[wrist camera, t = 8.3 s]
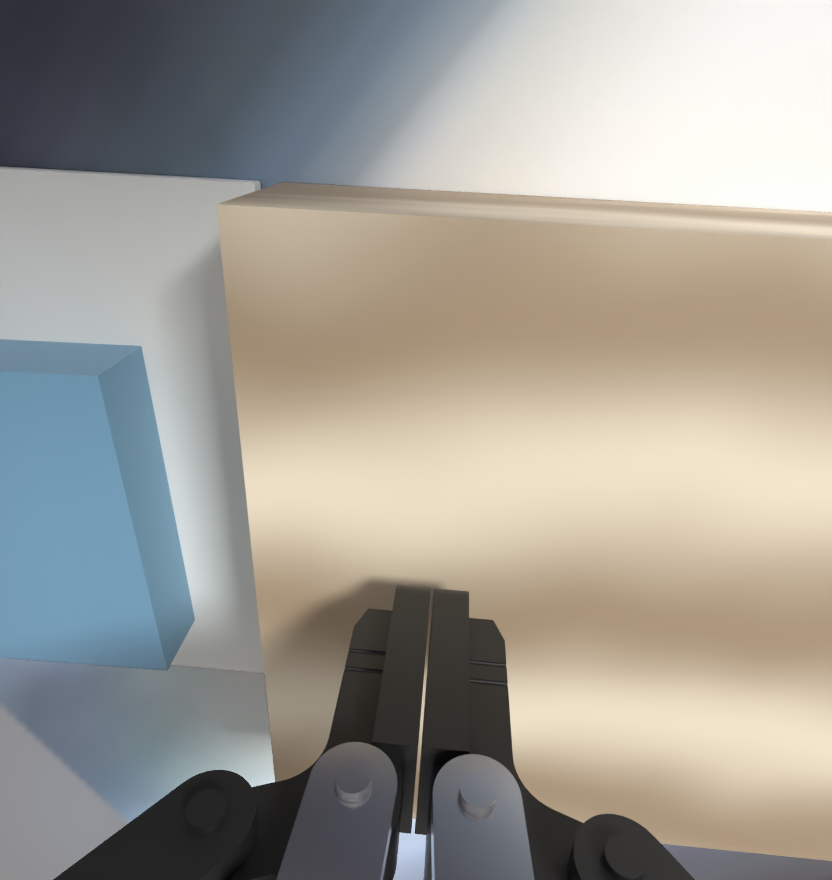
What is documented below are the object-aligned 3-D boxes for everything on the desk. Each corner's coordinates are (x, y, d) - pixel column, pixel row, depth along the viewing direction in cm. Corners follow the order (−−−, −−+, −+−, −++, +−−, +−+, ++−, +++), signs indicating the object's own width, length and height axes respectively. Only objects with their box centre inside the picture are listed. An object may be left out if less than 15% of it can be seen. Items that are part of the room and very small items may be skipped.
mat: (-133, 158, 14) (-148, 160, 13) (260, 180, 13) (254, 182, 13) (33, 642, 21) (26, 651, 20) (294, 666, 20) (290, 675, 20)
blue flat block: (97, 376, 13) (141, 345, 15) (-165, 362, 14) (-92, 334, 15) (167, 670, 17) (194, 619, 19) (-34, 654, 18) (11, 606, 19)
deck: (282, 181, 13) (215, 204, 10) (1044, 224, 13) (1269, 265, 9) (310, 688, 21) (277, 804, 17) (789, 732, 20) (857, 863, 17)
